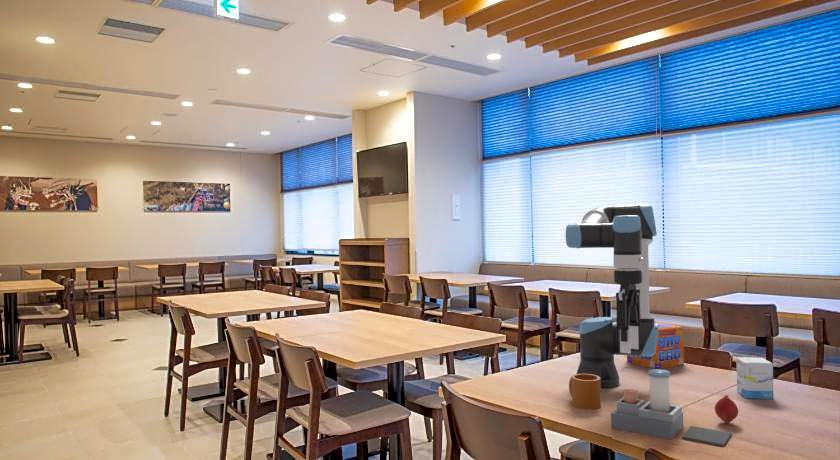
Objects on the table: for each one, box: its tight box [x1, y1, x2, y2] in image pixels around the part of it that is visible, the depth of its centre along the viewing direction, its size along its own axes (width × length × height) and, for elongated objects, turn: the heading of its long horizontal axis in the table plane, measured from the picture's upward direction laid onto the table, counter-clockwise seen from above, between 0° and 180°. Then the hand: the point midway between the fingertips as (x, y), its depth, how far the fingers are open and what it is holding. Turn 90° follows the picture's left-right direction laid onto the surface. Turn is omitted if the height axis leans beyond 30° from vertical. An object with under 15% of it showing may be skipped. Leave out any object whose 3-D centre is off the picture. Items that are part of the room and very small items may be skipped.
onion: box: [714, 394, 739, 424], centre depth 164 cm, size 6×6×8 cm
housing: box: [610, 396, 684, 440], centre depth 162 cm, size 16×12×6 cm
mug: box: [568, 373, 602, 410], centre depth 184 cm, size 9×12×9 cm
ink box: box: [735, 356, 775, 400], centre depth 190 cm, size 8×8×12 cm
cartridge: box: [648, 368, 671, 413], centre depth 159 cm, size 5×5×12 cm
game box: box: [626, 321, 685, 369], centre depth 237 cm, size 16×16×16 cm
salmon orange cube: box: [623, 388, 638, 404], centre depth 164 cm, size 4×4×4 cm
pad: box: [681, 425, 732, 448], centre depth 153 cm, size 10×10×1 cm
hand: (629, 350), depth 164 cm, fingers open, 6 cm apart
